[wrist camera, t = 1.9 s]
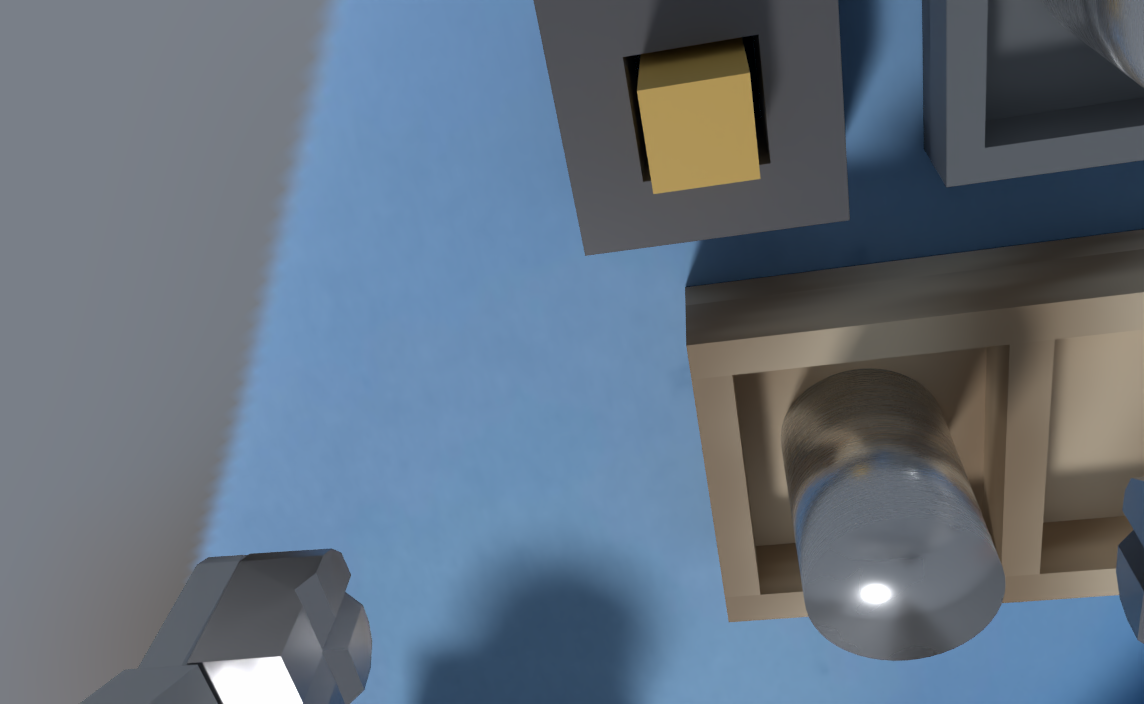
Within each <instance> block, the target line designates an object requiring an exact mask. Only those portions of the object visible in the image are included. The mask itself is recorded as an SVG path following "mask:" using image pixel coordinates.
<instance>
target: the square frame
mask: <svg viewBox="0 0 1144 704" xmlns="http://www.w3.org/2000/svg"><path fill="white" fill-rule="evenodd" d="M922 32H923V118H924V150H925V152H926V153H927V155H928V157H929V159H930V160H931V162H932V164H933V165H934V167H935V169H936V170H937V172H938V174H939V175H940V177H941V179H942V180H943V182H944V184H945V186H946V187H952V186H959V185H967V184H974V183H981V182H988V181H996V180H1003V179H1010V178H1017V177H1025V176H1032V175H1039V174H1047V173H1054V172H1061V171H1068V170H1076V169H1083V168H1090V167H1097V166H1105V165H1112V164H1119V163H1127V162H1134V161H1141V160H1144V88H1143V87H1141V86H1140V85H1139V84H1138V83H1136V82H1135V81H1134V80H1132V79H1131V78H1130V77H1129V76H1127V75H1126V74H1125V73H1123V72H1122V71H1121V70H1119V69H1118V68H1117V67H1116V66H1114V65H1113V64H1112V63H1110V62H1109V61H1108V60H1106V59H1105V58H1104V57H1103V56H1101V55H1100V54H1099V53H1097V52H1096V51H1095V50H1094V49H1092V48H1091V47H1090V46H1088V45H1087V44H1086V43H1084V42H1083V41H1082V40H1081V39H1079V38H1078V37H1077V36H1075V35H1074V34H1073V33H1071V32H1070V31H1069V30H1068V29H1066V28H1065V27H1064V26H1062V25H1061V24H1060V23H1059V22H1058V21H1057V20H1056V19H1055V18H1054V17H1053V16H1052V15H1051V14H1050V12H1049V11H1048V9H1047V8H1046V7H1045V5H1044V3H1043V1H1042V0H922Z"/></svg>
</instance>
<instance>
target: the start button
mask: <svg viewBox="0 0 1144 704" xmlns="http://www.w3.org/2000/svg"><path fill="white" fill-rule="evenodd" d="M637 94H638V101H639V107H640V113H641V120H642V126H643V132H644V138H645V145H646V151H647V157H648V164H649V170H650V176H651V182H652V189H653V194H658V193H665V192H672V191H679V190H686V189H693V188H700V187H707V186H714V185H721V184H728V183H735V182H742V181H749V180H756V179H760V169H759V159H758V149H757V138H756V128H755V118H754V108H753V98H752V88H751V78H750V71H749V66H748V62H747V57H746V53H745V48H744V44H743V39H742V37H740V38H734V39H728V40H722V41H716V42H710V43H704V44H698V45H692V46H686V47H680V48H674V49H668V50H662V51H656V52H650V53H644V54H641V55H640V65H639V75H638V86H637Z"/></svg>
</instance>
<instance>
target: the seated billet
mask: <svg viewBox="0 0 1144 704" xmlns="http://www.w3.org/2000/svg"><path fill="white" fill-rule="evenodd" d="M781 449H782V455H783V462H784V469H785V475H786V482H787V489H788V495H789V502H790V509H791V515H792V522H793V529H794V535H795V542H796V549H797V555H798V562H799V569H800V575H801V582H802V589H803V595H804V602H805V607H806V611H807V613H808V616H809V618H810V620H811V621H812V623H813V625H814V626H815V627H816V629H817V630H818V631H819V632H820V633H821V634H822V635H823V636H824V637H825V638H826V639H828V640H829V641H830V642H832V643H833V644H835V645H836V646H838V647H840V648H842V649H844V650H846V651H849V652H851V653H854V654H857V655H860V656H864V657H868V658H873V659H880V660H913V659H920V658H925V657H930V656H934V655H937V654H941V653H944V652H946V651H949V650H951V649H954V648H956V647H958V646H960V645H962V644H964V643H965V642H967V641H969V640H970V639H972V638H973V637H975V636H976V635H977V634H978V633H980V632H981V631H982V630H983V629H984V628H985V627H986V626H987V625H988V624H989V623H990V622H991V621H992V619H993V618H994V616H995V615H996V614H997V612H998V610H999V608H1000V606H1001V604H1002V601H1003V598H1004V594H1005V586H1006V585H1005V574H1004V570H1003V567H1002V564H1001V562H1000V559H999V557H998V554H997V551H996V549H995V546H994V544H993V541H992V539H991V536H990V534H989V531H988V528H987V526H986V523H985V521H984V518H983V516H982V513H981V511H980V508H979V505H978V503H977V500H976V498H975V495H974V493H973V490H972V488H971V485H970V482H969V480H968V477H967V475H966V472H965V470H964V467H963V465H962V462H961V460H960V457H959V454H958V452H957V449H956V447H955V444H954V442H953V439H952V437H951V434H950V431H949V429H948V426H947V424H946V421H945V419H944V416H943V414H942V411H941V409H940V407H939V404H938V402H937V401H936V399H935V398H934V396H933V395H932V394H931V393H930V392H929V391H928V390H927V389H926V388H925V387H924V386H923V385H921V384H920V383H919V382H917V381H915V380H914V379H912V378H910V377H908V376H905V375H903V374H901V373H897V372H894V371H890V370H884V369H872V368H866V369H855V370H849V371H844V372H841V373H837V374H834V375H832V376H829V377H826V378H824V379H822V380H821V381H819V382H817V383H815V384H814V385H812V386H811V387H809V388H808V389H807V390H805V391H804V392H803V393H802V394H801V395H800V396H799V397H798V398H797V399H796V400H795V401H794V403H793V404H792V405H791V407H790V408H789V410H788V412H787V414H786V416H785V418H784V421H783V424H782V428H781Z"/></svg>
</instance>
